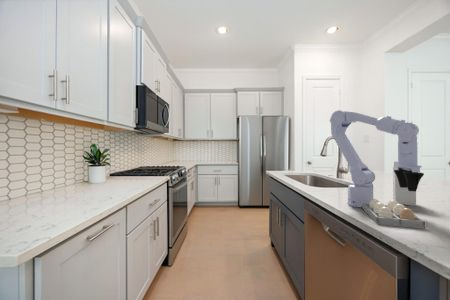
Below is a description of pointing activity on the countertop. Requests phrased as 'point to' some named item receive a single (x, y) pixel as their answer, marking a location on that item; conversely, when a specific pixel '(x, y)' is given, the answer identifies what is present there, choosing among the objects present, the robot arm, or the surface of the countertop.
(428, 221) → the countertop surface
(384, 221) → the egg carton
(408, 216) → the brown egg
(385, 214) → the cream eggs
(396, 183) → the milk carton
